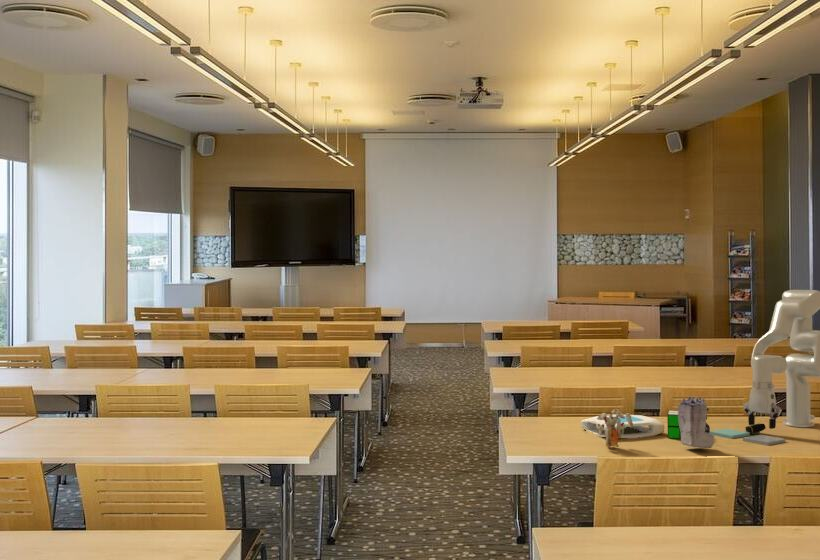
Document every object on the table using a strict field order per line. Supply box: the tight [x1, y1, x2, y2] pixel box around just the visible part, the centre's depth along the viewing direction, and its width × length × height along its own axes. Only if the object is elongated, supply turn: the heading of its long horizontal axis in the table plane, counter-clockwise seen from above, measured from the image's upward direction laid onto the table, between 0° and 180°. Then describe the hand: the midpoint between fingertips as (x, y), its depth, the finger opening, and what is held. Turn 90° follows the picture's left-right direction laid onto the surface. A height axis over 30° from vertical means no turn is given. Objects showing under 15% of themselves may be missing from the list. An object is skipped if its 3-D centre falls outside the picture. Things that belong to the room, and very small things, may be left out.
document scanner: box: [580, 414, 665, 439], centre depth 344 cm, size 21×28×6 cm
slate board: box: [742, 434, 786, 446], centre depth 325 cm, size 12×11×1 cm
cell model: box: [677, 396, 715, 449], centre depth 313 cm, size 13×11×20 cm
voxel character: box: [597, 408, 633, 448], centre depth 314 cm, size 11×10×15 cm
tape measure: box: [745, 423, 766, 436], centre depth 339 cm, size 7×7×4 cm
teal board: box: [709, 428, 751, 440], centre depth 339 cm, size 12×11×1 cm
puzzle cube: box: [667, 410, 681, 440], centre depth 335 cm, size 10×10×10 cm
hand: (761, 426), depth 338 cm, fingers open, 9 cm apart
